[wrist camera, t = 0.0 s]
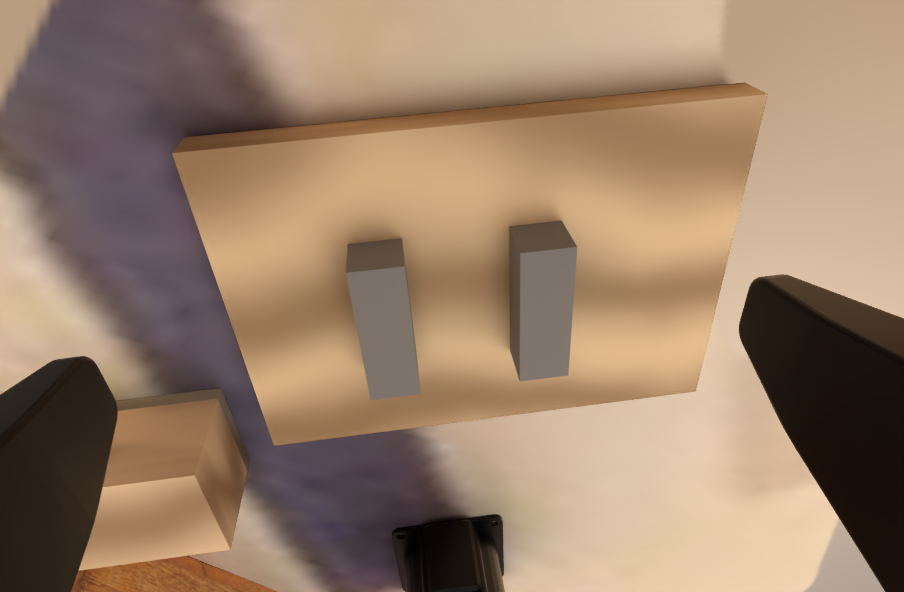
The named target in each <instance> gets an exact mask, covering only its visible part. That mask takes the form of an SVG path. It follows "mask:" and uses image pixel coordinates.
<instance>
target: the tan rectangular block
mask: <svg viewBox="0 0 904 592" xmlns="http://www.w3.org/2000/svg"><path fill="white" fill-rule="evenodd" d="M116 403H117V408H118V418H117V424H116V428H115V433H114V437H113V442H112V447H111V451H110V456H109V460H108V465H107V470H106V474H105V479H104V483H103V488H102V493H101V497H100V502H99V506H98V510H97V514H96V518H95V522H94V525H93V529H92V532H91V535H90V538H89V542H88V545H87V547H86V550H85V553H84V556H83V559H82V562H81V565H80V568H79V571H80V570H88V569H95V568H102V567H109V566H116V565H124V564H131V563H138V562H145V561H152V560H160V559H167V558H174V557H181V556H188V555H196V554H203V553H210V552H217V551H224V550H231V545H232V540H233V536H234V531H235V526H236V522H237V517H238V513H239V508H240V503H241V499H242V494H243V489H244V485H245V480H246V475H247V471H248V466H249V461H250V460H249V458H248V455H247V453H246V450H245V448H244V445H243V442H242V440H241V437H240V435H239V432H238V430H237V427H236V425H235V422H234V420H233V417H232V415H231V412H230V409H229V407H228V404H227V402H226V399H225V397H224V394H223V392H222V389H221V388H217V389H209V390H201V391H193V392H185V393H177V394H169V395H161V396H152V397H144V398H136V399H128V400H120V401H116Z"/></svg>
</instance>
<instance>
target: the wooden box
mask: <svg viewBox="0 0 904 592" xmlns="http://www.w3.org/2000/svg"><path fill="white" fill-rule="evenodd" d="M72 592H276V591H273V590H271V589H268V588H266V587H264V586H261V585H259V584H256V583H254V582H251V581H249V580H246V579H244V578H241V577H239V576H236V575H234V574H231V573H229V572H226V571H223V570H221V569H218V568H216V567H213V566H211V565H208V564H206V563H203V562H200V561H198V560H196V559H193V558H191V557H188V556H181V557H174V558H167V559H160V560H152V561H145V562H138V563H131V564H124V565H116V566H109V567H102V568H95V569H88V570H80V571H78V574H77V577H76V580H75V583H74V586H73V589H72Z"/></svg>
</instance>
